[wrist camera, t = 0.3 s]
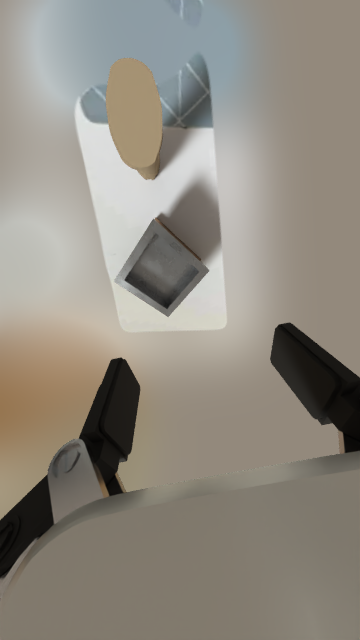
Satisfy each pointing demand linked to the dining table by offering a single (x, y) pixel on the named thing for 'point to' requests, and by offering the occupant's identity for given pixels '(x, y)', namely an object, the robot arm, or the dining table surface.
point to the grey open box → (161, 270)
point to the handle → (135, 115)
